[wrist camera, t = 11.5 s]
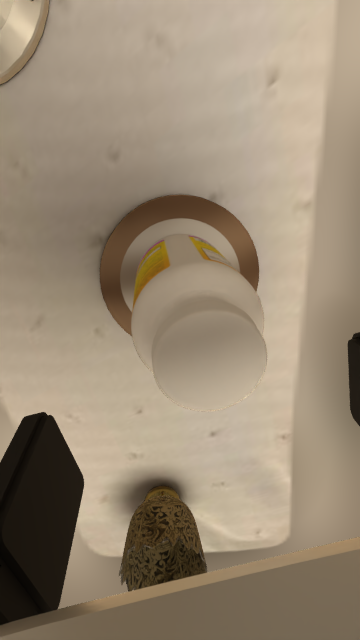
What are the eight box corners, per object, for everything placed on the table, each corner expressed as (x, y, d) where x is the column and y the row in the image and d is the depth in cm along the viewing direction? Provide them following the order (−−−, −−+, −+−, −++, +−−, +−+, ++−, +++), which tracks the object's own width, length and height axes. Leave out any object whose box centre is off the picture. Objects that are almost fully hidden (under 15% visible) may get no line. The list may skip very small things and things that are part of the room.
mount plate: (80, 218, 25) (75, 220, 23) (240, 176, 25) (246, 175, 23) (128, 357, 30) (127, 367, 28) (263, 323, 29) (269, 331, 28)
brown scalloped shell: (161, 457, 34) (163, 533, 27) (210, 492, 36) (224, 571, 29) (112, 498, 36) (100, 580, 28) (162, 529, 38) (164, 613, 31)
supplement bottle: (142, 323, 27) (136, 440, 15) (130, 237, 24) (112, 295, 12) (226, 314, 27) (287, 421, 15) (224, 228, 24) (295, 276, 12)
